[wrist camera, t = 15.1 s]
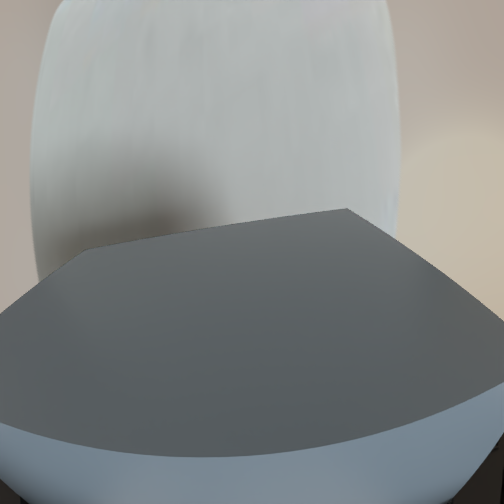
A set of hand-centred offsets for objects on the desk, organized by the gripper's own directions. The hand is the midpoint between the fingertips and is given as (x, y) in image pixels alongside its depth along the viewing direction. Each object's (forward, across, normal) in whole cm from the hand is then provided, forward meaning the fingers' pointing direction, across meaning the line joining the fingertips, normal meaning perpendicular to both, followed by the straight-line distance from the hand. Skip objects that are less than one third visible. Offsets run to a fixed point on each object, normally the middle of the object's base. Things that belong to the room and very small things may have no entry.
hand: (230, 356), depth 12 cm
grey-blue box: (+1, 0, 0) cm, 1 cm away
